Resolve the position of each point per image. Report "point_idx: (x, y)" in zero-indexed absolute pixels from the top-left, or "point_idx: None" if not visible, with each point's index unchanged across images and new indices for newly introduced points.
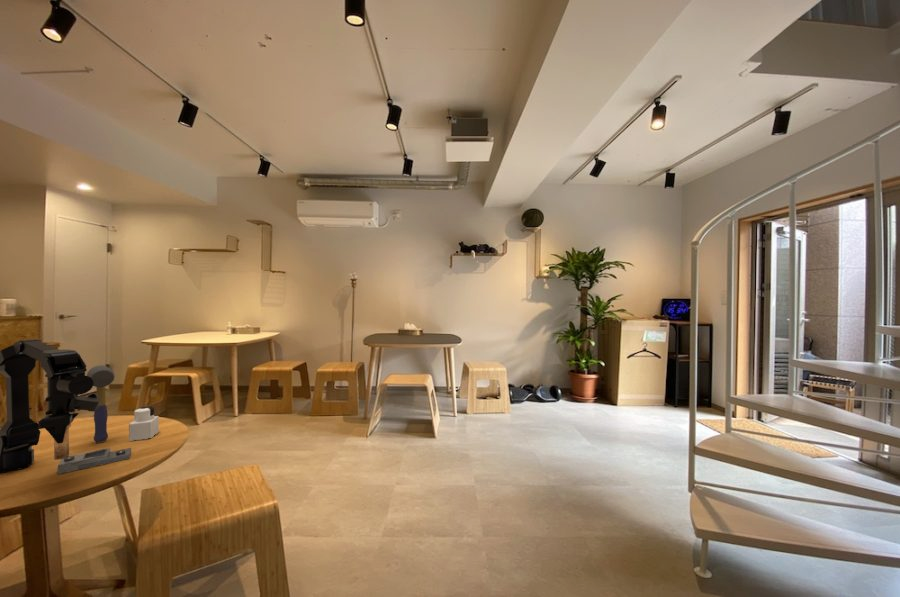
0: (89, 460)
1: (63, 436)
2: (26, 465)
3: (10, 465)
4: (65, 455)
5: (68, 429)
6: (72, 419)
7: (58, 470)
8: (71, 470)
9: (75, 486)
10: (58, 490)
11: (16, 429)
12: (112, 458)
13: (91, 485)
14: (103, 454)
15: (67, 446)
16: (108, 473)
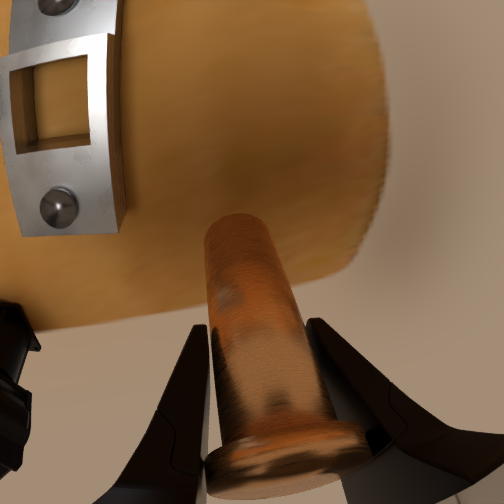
0: (109, 111)
1: (363, 358)
2: (11, 310)
3: (24, 343)
4: (269, 233)
5: (297, 397)
6: (473, 484)
7: (122, 216)
8: (121, 169)
9: (335, 129)
10: (326, 177)
11: (5, 455)
12: (117, 15)
13: (374, 83)
14: (23, 79)
15: (270, 264)
16: (283, 21)
